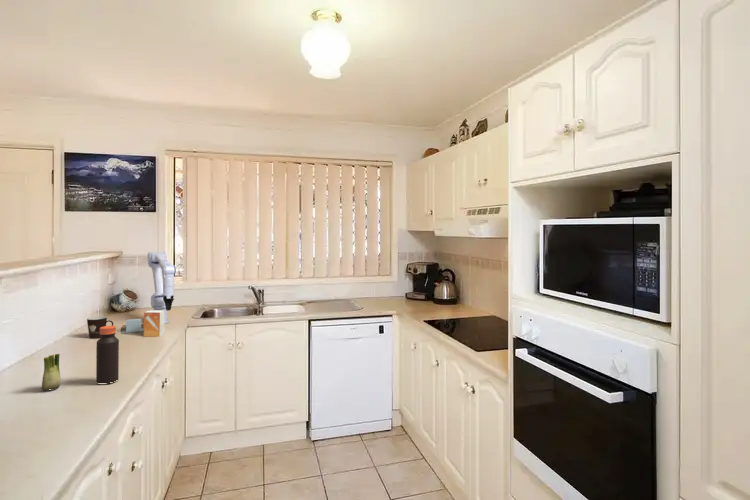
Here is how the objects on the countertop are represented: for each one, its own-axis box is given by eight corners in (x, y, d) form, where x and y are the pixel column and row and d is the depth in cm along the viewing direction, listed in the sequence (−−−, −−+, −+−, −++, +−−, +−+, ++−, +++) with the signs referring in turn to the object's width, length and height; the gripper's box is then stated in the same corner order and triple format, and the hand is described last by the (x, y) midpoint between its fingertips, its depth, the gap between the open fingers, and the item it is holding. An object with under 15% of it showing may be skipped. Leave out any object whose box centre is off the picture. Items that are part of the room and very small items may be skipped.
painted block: (126, 330, 223) (126, 319, 223) (141, 329, 226) (141, 318, 226) (126, 331, 220) (126, 320, 219) (140, 330, 223) (141, 319, 223)
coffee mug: (82, 338, 207) (82, 318, 206) (99, 334, 215) (99, 315, 214) (98, 340, 202) (98, 320, 202) (114, 337, 210) (114, 317, 210)
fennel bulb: (58, 385, 143) (58, 351, 142) (64, 388, 140) (65, 354, 140) (38, 390, 138) (38, 355, 137) (44, 393, 135) (44, 358, 135)
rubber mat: (122, 330, 224) (122, 329, 224) (145, 329, 229) (145, 328, 229) (121, 334, 217) (121, 333, 217) (145, 332, 222) (145, 331, 222)
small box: (143, 336, 212) (143, 312, 212) (148, 334, 218) (148, 310, 218) (159, 336, 213) (160, 312, 213) (164, 334, 219) (164, 310, 219)
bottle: (101, 386, 143) (102, 330, 142) (92, 382, 146) (92, 327, 146) (122, 381, 148) (122, 326, 148) (112, 377, 152) (113, 324, 151)
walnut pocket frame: (122, 327, 232) (123, 325, 232) (147, 325, 238) (147, 323, 238) (121, 330, 224) (121, 328, 224) (146, 328, 230) (146, 326, 230)
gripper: (160, 284, 240) (160, 307, 240) (160, 287, 227) (160, 311, 227) (174, 284, 243) (173, 306, 243) (174, 287, 230) (174, 311, 230)
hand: (168, 309), depth 235 cm, fingers open, 7 cm apart
